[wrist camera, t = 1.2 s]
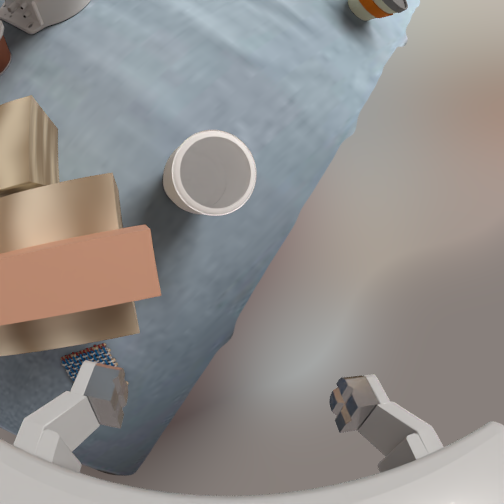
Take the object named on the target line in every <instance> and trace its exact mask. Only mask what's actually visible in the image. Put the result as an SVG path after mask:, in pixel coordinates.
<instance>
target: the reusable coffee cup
mask: <svg viewBox="0 0 504 504" xmlns="http://www.w3.org/2000/svg"><path fill="white" fill-rule="evenodd" d="M348 5H349V7H350V9H351V11H352V12H353V13H354V14H355V15H356V16H357V17H358V18H360V19H361V20H364V21H367V20H371V19H374V18H382V17H386V16H390V15H393V13H400V12H402V11H404V10H406V9H407V8H408V5H407V2H406V0H348Z"/></svg>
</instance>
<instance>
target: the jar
mask: <svg viewBox="0 0 504 504" xmlns="http://www.w3.org/2000/svg"><path fill="white" fill-rule="evenodd" d="M255 183H256V165H255V161H254V158H253V156H252V154H251V152H250V150H249V149H248V148H247V146H246V145H245V144H244V143H243V142H242V141H241V140H240V139H238V138H237V137H236V136H234V135H232V134H230V133H227V132H224V131H220V130H206V131H201V132H198V133H196V134H194V135H192V136H190V137H189V138H188V139H186V140H185V141H184V142H183V143H182V144H181V146H179V147H178V148H177V149H176V150H175V151H174V152H173V153H172V154H171V156H170V157H169V159H168V161H167V163H166V165H165V168H164V174H163V187H164V190H165V192H166V194H167V196H168V197H169V198H170V199H171V200H172V201H173V202H174V203H175V204H176V205H177V206H178V207H180V208H181V209H183V210H185V211H187V212H190V213H194V214H205V215H211V216H218V215H225V214H228V213H231V212H233V211H235V210H237V209H239V208H240V207H241V206H242V205H243V204H245V202H246V201H247V200H248V199H249V197H250V196H251V194H252V192H253V190H254V187H255Z"/></svg>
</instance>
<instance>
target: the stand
mask: <svg viewBox="0 0 504 504" xmlns="http://www.w3.org/2000/svg"><path fill="white" fill-rule="evenodd" d="M122 228H123V225H122V217H121V209H120V201H119V191H118V188H117V185H116V182H115V179H114V176H113V173H107V174H101V175H95V176H90V177H84V178H79V179H74V180H69V181H64V182H60V183H55V184H51V185H46V186H42V187H38V188H34V189H30V190H26V191H22V192H18V193H14V194H11V195H7V196H4V197H0V254H1V253H5V252H10V251H14V250H18V249H22V248H27V247H31V246H36V245H40V244H45V243H49V242H54V241H59V240H64V239H69V238H74V237H79V236H84V235H89V234H94V233H100V232H105V231H110V230H116V229H122ZM137 333H140V331H139V326H138V320H137V315H136V309H135V303H134V301H132V302H127V303H122V304H117V305H112V306H107V307H101V308H96V309H91V310H86V311H81V312H75V313H70V314H64V315H59V316H53V317H48V318H42V319H36V320H31V321H25V322H19V323H13V324H7V325H1V326H0V356H7V355H15V354H23V353H30V352H37V351H44V350H50V349H57V348H63V347H69V346H75V345H80V344H86V343H91V342H97V341H102V340H107V339H113V338H118V337H123V336H127V335H132V334H137Z"/></svg>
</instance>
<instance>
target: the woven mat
mask: <svg viewBox="0 0 504 504" xmlns="http://www.w3.org/2000/svg"><path fill="white" fill-rule="evenodd" d="M105 346H106V344H105V343H104V344H103V343H102V344H101V345H98V346H96V345H94V347H91V348H89V349H88V348H86V350H83V351H79V352H76V353H74V352H72V354H71V355H68V356H67V355H65V356H64V357H61V360H63V361H62V362H61V363H63V364H62V366H65V367H64V368H66V371H67V373H69V374H68V376H69V375H70V376H71V377H70V378H72V380H73V382H74V381H75V379H76V377H77V374H78V372H79V370H80V368H81V365H82V363H83V362H84V361H85V360H88V361H92V362H96V363H101V364H107V365H110V366H114V367H116V366H117V365H118V364H117V363H114V362H115V359H114V358H113V359H112V357H111V354H110V351H111V350H110V349H108V348H105ZM101 348H103V349H101ZM94 351H95V352H94ZM90 352H91V353H92V354H91V353H90ZM108 352H109V353H108ZM104 353H106V354H104ZM100 354H101V355H100ZM79 355H80V356H79ZM83 355H84V356H83ZM97 356H98V357H97ZM93 357H94V358H93ZM72 358H73V359H72ZM107 358H108V359H107ZM103 360H104V361H103ZM78 361H79V362H78ZM109 363H110V364H109ZM73 374H74V375H73ZM126 382H127V381H126ZM127 385H128V382H127Z"/></svg>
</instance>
